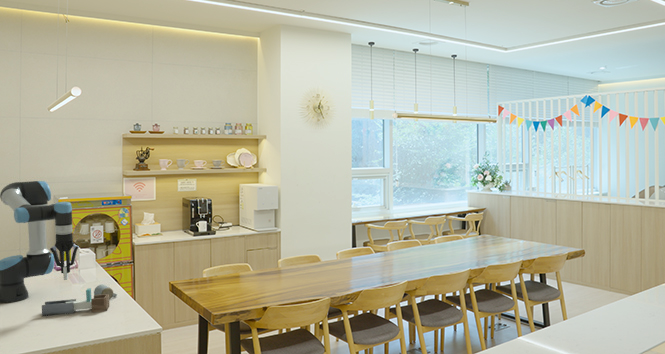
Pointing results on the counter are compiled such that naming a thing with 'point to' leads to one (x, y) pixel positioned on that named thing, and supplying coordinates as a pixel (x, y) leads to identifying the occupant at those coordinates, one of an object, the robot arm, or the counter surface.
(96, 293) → the ceramic mug
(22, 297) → the robot arm
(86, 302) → the rod
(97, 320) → the counter surface
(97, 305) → the socket
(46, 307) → the channel
